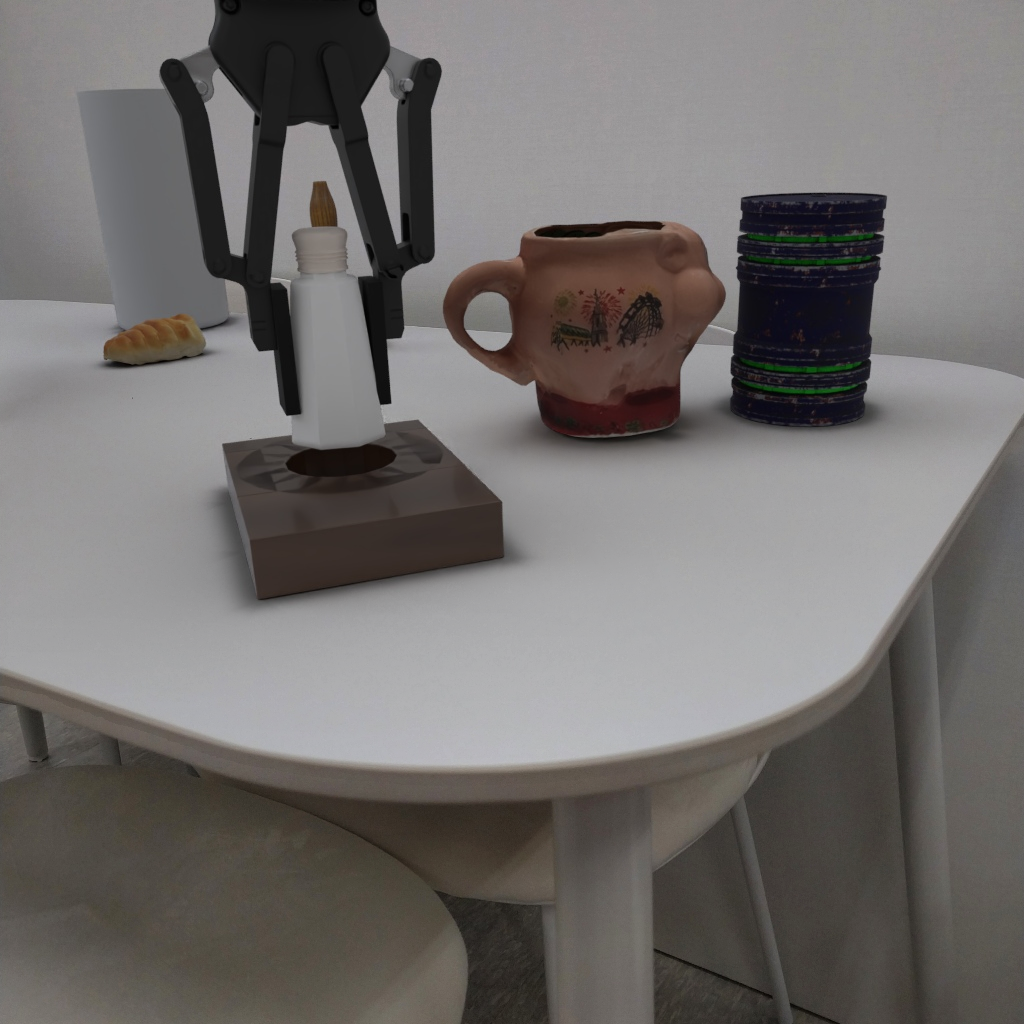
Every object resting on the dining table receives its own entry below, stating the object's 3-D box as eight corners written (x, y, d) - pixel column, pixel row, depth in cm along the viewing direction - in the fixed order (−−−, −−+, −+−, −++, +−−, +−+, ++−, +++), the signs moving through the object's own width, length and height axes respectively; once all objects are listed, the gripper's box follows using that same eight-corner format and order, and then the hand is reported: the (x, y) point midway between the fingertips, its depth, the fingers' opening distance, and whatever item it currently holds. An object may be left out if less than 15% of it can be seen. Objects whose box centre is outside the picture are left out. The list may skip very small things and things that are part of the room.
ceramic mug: (488, 474, 60) (479, 242, 55) (426, 425, 70) (413, 226, 65) (757, 429, 67) (770, 220, 62) (664, 391, 77) (669, 210, 72)
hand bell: (318, 360, 92) (300, 184, 87) (283, 347, 99) (264, 182, 93) (394, 347, 97) (382, 179, 91) (355, 336, 103) (342, 178, 97)
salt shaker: (311, 457, 50) (288, 236, 46) (274, 433, 54) (249, 229, 50) (405, 437, 53) (390, 227, 49) (362, 416, 57) (346, 221, 53)
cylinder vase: (239, 313, 120) (210, 92, 111) (217, 331, 108) (183, 87, 99) (136, 317, 119) (99, 96, 110) (103, 336, 107) (58, 91, 98)
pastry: (127, 371, 90) (120, 330, 89) (90, 363, 94) (83, 324, 93) (213, 352, 97) (207, 314, 96) (175, 346, 101) (169, 309, 100)
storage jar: (857, 432, 66) (881, 202, 60) (714, 419, 70) (724, 202, 64) (873, 397, 74) (895, 191, 69) (744, 387, 78) (755, 192, 73)
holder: (228, 490, 58) (221, 443, 57) (421, 464, 62) (418, 419, 61) (257, 600, 44) (249, 540, 43) (504, 557, 48) (502, 500, 47)
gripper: (80, -124, 38) (171, 442, 47) (492, -103, 44) (507, 402, 52) (88, -84, 45) (167, 405, 53) (445, -70, 50) (465, 373, 59)
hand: (335, 403), depth 53 cm, fingers closed on salt shaker, 4 cm apart
